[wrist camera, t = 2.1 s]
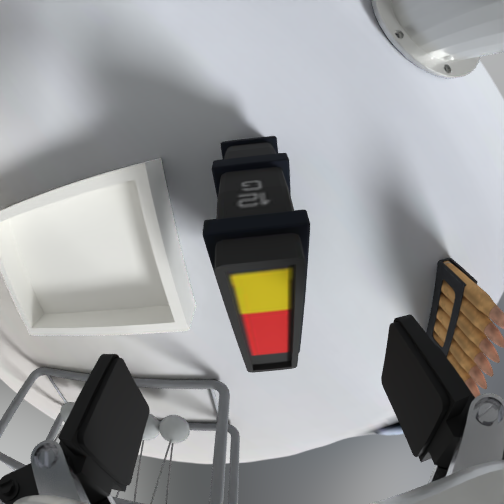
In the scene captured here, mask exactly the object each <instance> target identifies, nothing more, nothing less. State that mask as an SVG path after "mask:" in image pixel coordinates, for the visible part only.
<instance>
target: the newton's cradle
mask: <svg viewBox="0 0 504 504" xmlns="http://www.w3.org/2000/svg"><path fill="white" fill-rule="evenodd" d="M41 375H47V376H48V378H49V379H50V381H51V383H52V384H53V386H54V387H55V389H56V390H57V392H58V393H59V395H60V396H61V398H62V399H63V401H64V402H65V404H64V405H63V406H62V407H61V411H60V413H59V415H58V416H57V418H56V420H55V422H54V424H53V426H52V428H51V430H50V432H49V434H48V436H47V438H46V440H54V438H55V436H56V434H57V432H58V430H59V427H60V426H61V424H62V422H63V421H64V422H66V420H67V418H68V416H69V414H70V412H71V410H72V408H73V406H74V404H75V403H74V402H67V401H66V400H65V398H64V397H63V395H62V394H61V392H60V391H59V389H58V388H57V386H56V385H55V383H54V382H53V380H52V378H51V377H50V376H55V377H61V378H67V379H73V380H80V381H87V379H88V377H89V376H90V374H87V373H79V372H72V371H65V370H58V369H52V368H46V367H41V368H38V369H36V370H34V371H33V372H32V373H31V374H30V375H29V377H28V378H27V380H26V381H25V383H24V384H23V386H22V387H21V389H20V390H19V392H18V393H17V395H16V397H15V398H14V400H13V401H12V403H11V404H10V406H9V407H8V409H7V410H6V412H5V414H4V415H3V417H2V419H1V420H0V437H1V435H2V434H3V432H4V430H5V428H6V427H7V425H8V423H9V421H10V420H11V418H12V416H13V415H14V413H15V411H16V410H17V408H18V407H19V405H20V403H21V402H22V400H23V399H24V397H25V395H26V394H27V392H28V391H29V389H30V388H31V386H32V385H33V383H34V381H35V380H36V379H37V378H38V377H39V376H41ZM133 379H134V381H135V383H136V385H137V387H149V388H171V389H210V391H211V394H212V398H213V401H214V404H215V408H216V411H217V414H218V416H217V423H187V421H186V420H185V419H184V418H182V417H181V416H178V415H169V416H166V417H165V418H163V419H162V421H158V419H157V418H156V417H155V416H153V415H152V414H149V416H148V420H147V423H146V427H145V430H144V434H143V438H142V440H143V442H142V448H141V454H140V460H139V467H138V474H137V481H136V488H135V495H134V502H133V501H128V500H124V499H120V498H117V497H118V494H119V490H118V492H117V495H116V497H112V498H113V500H114V501H115V503H116V504H143V503H138V502H135V498H136V490H137V482H138V475H139V469H140V463H141V462H140V461H141V456H142V450H143V444H144V440H152V439H154V438H156V437H157V436H158V435H159V433H161V435H162V437H163V438H164V439H165V440H167V441H169V442H170V443H169V446H168V449H167V452H166V455H165V458H164V461H163V464H162V468H161V471H160V474H159V477H158V480H157V484H156V487H155V490H154V493H153V497H152V500H151V503H150V504H152V502H153V499H154V496H155V492H156V489H157V485H158V482H159V479H160V476H161V473H162V469H163V466H164V463H165V460H166V457H167V453H168V450H169V447H170V444H171V443H172V447H171V456H170V465H169V474H168V484H167V495H166V504H167V499H168V488H169V477H170V468H171V459H172V450H173V443H180V442H183V441H184V440H185V439H187V437H188V435H189V432H190V430H201V431H216V436H215V447H214V458H213V469H212V480H211V492H210V501H209V504H223V495H224V478H225V461H226V445H227V432H229V433H230V434H231V450H230V471H229V491H228V504H238V478H239V443H240V436H239V432H238V430H237V429H236V428H235V427H234V426H232V425H230V424H228V414H229V399H230V394H229V389H228V388H227V386H226V385H225V384H223V383H222V382H220V381H217V380H170V379H145V378H133ZM214 389H215V390H217V391H218V392H219V394H220V396H219V406H218V404H217V400H216V397H215V393H214ZM61 431H62V430H61ZM61 431H60V433H61ZM60 433H59V434H58V436H59V435H60ZM58 436H57V437H56V439H57V438H58ZM56 439H55V440H54V441H56ZM46 440H45V441H46ZM0 460H1V461H2V462H4V463H5V464H6V465H7V466H8V467H9V468H10V469H12V470H13V471H16V470H18V469H20V468H22V467H24V466H26V465H24V464H22V463H20V462H18V461H16V460H14V459H12V458H10V457H8V456H7V455H5V454H3V453H1V452H0ZM15 469H16V470H15Z"/></svg>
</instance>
